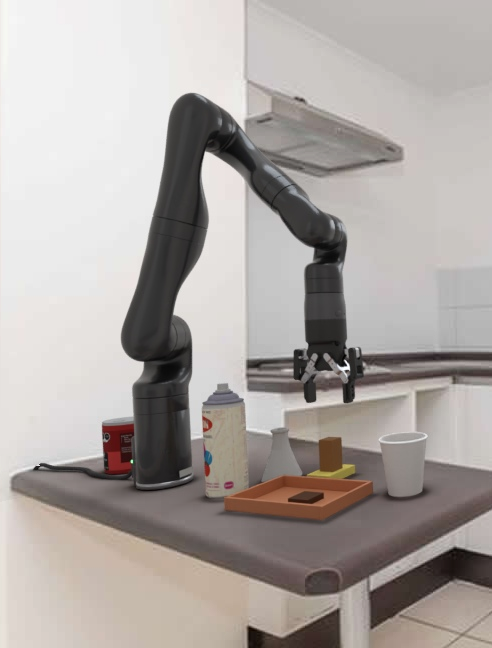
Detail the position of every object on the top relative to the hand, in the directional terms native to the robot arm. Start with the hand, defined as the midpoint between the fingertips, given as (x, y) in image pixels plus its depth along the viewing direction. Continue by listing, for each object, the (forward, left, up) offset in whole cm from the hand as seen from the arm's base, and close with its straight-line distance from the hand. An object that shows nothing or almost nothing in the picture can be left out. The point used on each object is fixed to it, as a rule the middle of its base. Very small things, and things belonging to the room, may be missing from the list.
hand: (329, 402), depth 105 cm
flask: (-11, -2, -15) cm, 19 cm away
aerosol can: (-14, -12, -15) cm, 23 cm away
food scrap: (+4, -13, -15) cm, 20 cm away
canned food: (-52, -3, -15) cm, 54 cm away
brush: (-1, 0, -15) cm, 15 cm away
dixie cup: (+18, -4, -15) cm, 24 cm away
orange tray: (+3, -13, -15) cm, 20 cm away
